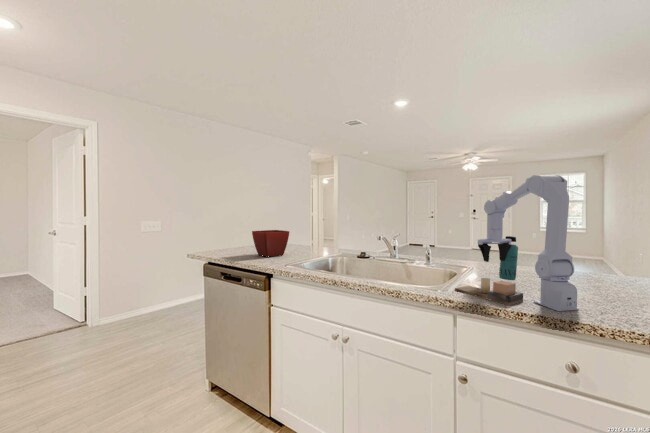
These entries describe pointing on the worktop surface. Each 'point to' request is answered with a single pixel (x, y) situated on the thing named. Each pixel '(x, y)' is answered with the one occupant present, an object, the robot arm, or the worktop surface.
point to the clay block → (498, 287)
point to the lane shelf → (492, 295)
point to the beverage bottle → (509, 262)
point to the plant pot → (270, 242)
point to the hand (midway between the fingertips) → (494, 261)
